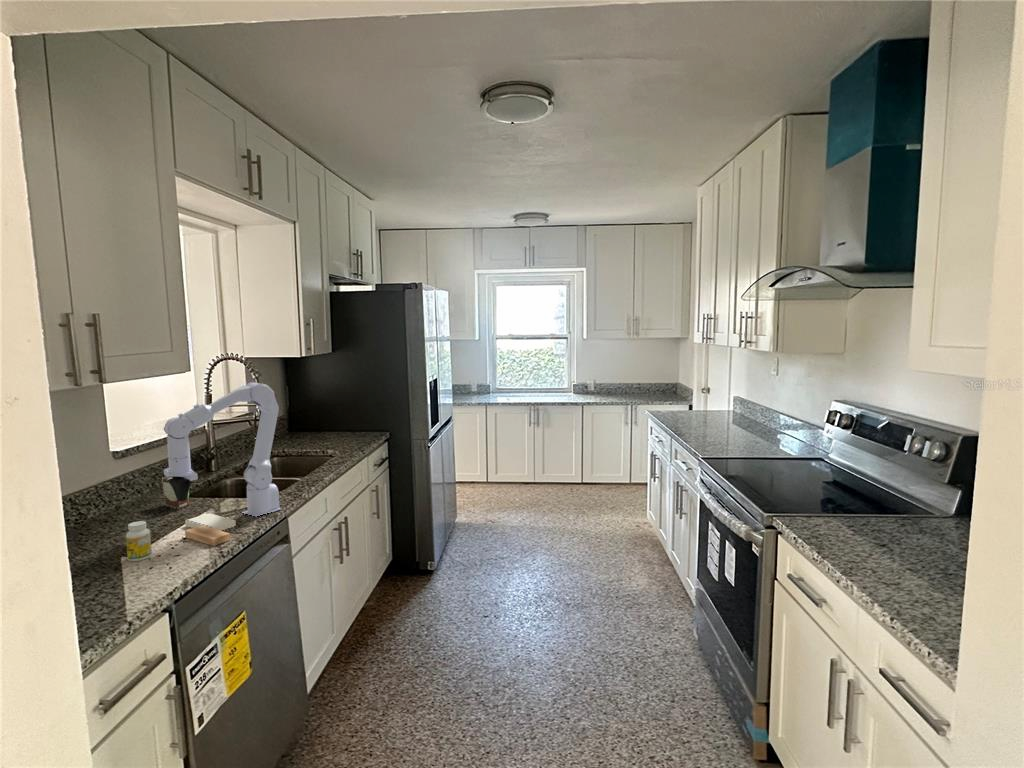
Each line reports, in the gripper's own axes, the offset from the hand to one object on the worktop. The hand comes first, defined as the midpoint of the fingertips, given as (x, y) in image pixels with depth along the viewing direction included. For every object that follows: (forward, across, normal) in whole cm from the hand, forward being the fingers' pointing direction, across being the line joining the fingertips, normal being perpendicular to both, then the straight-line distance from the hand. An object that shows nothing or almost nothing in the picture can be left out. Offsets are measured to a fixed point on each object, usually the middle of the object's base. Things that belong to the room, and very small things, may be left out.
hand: (182, 500), depth 162 cm
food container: (+10, -25, +14) cm, 30 cm away
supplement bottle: (+10, +10, -18) cm, 23 cm away
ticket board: (+9, +4, +6) cm, 12 cm away
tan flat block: (+9, +14, -1) cm, 17 cm away
